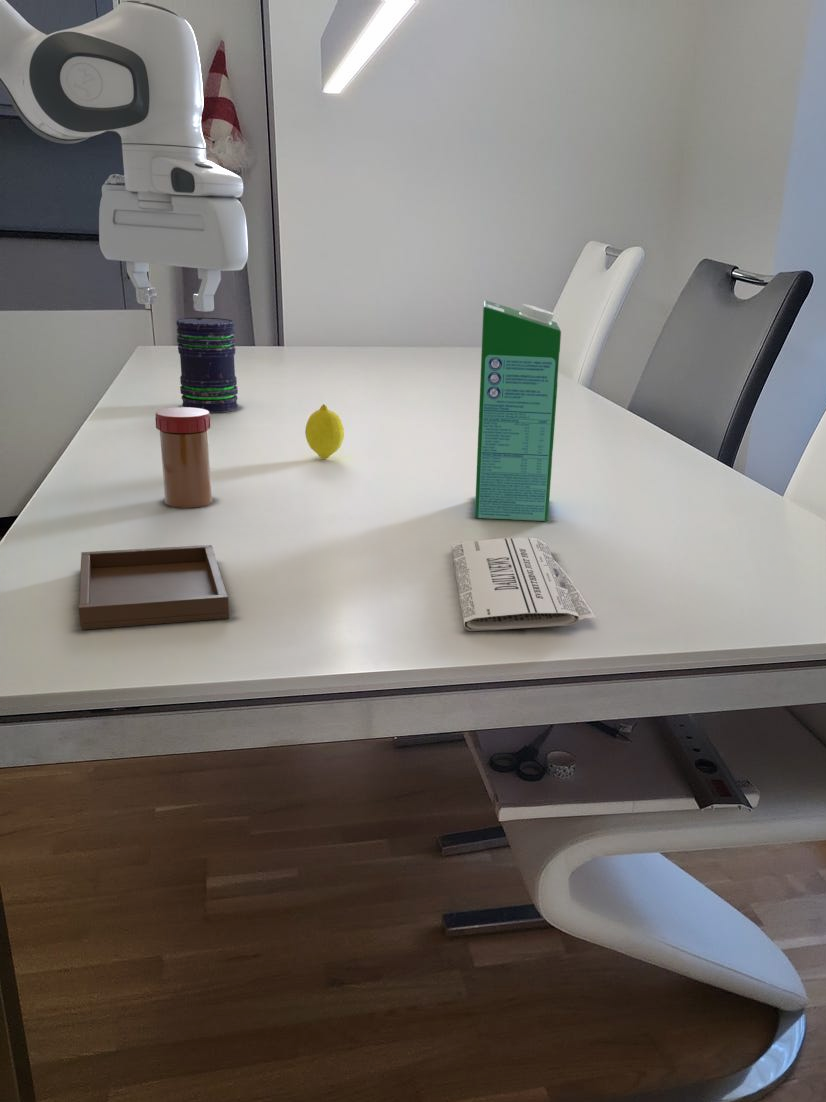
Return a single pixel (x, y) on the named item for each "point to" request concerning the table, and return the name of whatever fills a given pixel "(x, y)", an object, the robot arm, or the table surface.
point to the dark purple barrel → (207, 364)
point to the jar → (186, 469)
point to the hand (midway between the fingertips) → (175, 307)
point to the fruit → (324, 432)
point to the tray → (150, 587)
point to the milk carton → (516, 412)
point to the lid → (182, 420)
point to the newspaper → (514, 586)
